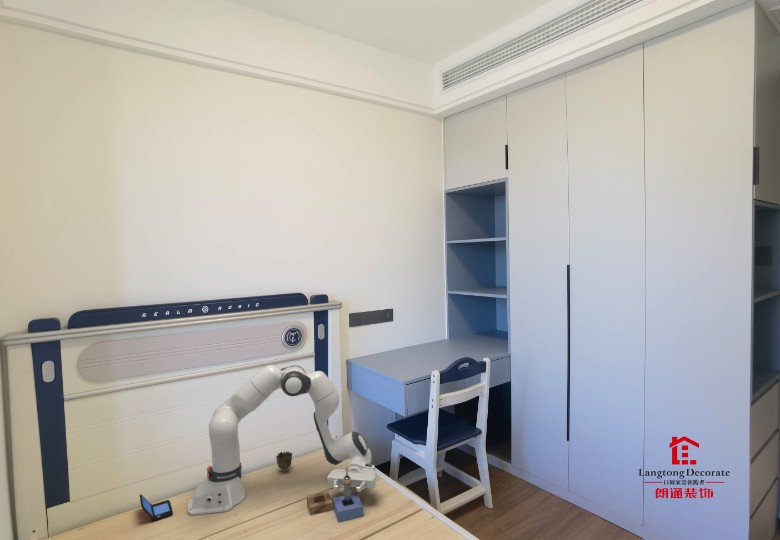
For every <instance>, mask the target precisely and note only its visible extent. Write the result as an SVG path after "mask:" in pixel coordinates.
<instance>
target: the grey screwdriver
mask: <svg viewBox="0 0 780 540" xmlns="http://www.w3.org/2000/svg"><path fill="white" fill-rule="evenodd" d="M345 469H346V476H344V486H343V493H344V495H343V496H344V502H345V506H347V505H351V494H352V493H351V491H352V489H351V488H352V487H351V478H350V476H348V467H347V465H346V466H345Z"/></svg>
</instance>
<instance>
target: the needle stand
mask: <svg viewBox="0 0 780 540" xmlns="http://www.w3.org/2000/svg"><path fill="white" fill-rule="evenodd" d="M306 503H307V508H308V511H309V515H310V516H313V515H317V514H322V513H326V512H331V511H334V509H333V499H332V497H331V494H330V492H329V491H328V490H327V491H323V492H317V493H313V494H309V495H306Z"/></svg>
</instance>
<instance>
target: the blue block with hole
mask: <svg viewBox="0 0 780 540" xmlns="http://www.w3.org/2000/svg"><path fill="white" fill-rule="evenodd" d="M332 503H333V511H334V513H335V517H336V520H337V522H338V523H341V522H345V521H351V520H354V519H358V518H362V517H364V505H363V502H362V501H361V498H360V497H359V495H358V493H357V492H355V493H351V505H347V506H345V502H344V495H341V496H337V497H333V498H332Z"/></svg>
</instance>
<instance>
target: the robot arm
mask: <svg viewBox="0 0 780 540" xmlns="http://www.w3.org/2000/svg"><path fill="white" fill-rule="evenodd" d="M279 389H281V390H282V391H283V393H284V394H285V395H287V396H289V397H297V396H298V397H299V396H300V395H301V396H302V395H305V394H308V395H309V397H310V399H311V400H312V403H313V405H314V409H315V411H314V412H313V420H314V424H315V427H316V428H315V429H316V430H317V433H318V436H319V439H320V442H321V445H322V448H323V453H324V457H325V460H326V461H327V462H328V463H329V464H331V465H334V466H337V465H339V464H341V463H343V462H344V461H347V460H349V462H348V464H347V465H346V466H347V467H348V476H350V478H351V488H356V493H357V492H358V493H361V492H362V491H363V490H364V489H374V488H375V487H376V483H377V481H376V478H377V477H376V467H375V465H373V464H371V462H372V451H371V450H370V448H369V447H368V443H367V441H366V440H365V437H364V436H363V435H362V434H361V433H360V432H357V431H353V430H352V432H349V433H346V434H345V435H343V436H341V437H339V438H337V439H334V438H333V437H332V434H331V431H330V429H329V425H328V420H329V418H330V417H331V416H332V415H333V414H335V412H336V411H337V409H338V407H339V404H340V396H339V393H338V390H337V389H336V388H335V386H334V384H333V382H332V381H331V380H330V378H329V377H328V375H327V374H326V373H325V372H323V371H322V370H317V371H313V372H311V373H307V372H306V370H305V369H304V368H303V367H302V366H300V365H296V364H295V365H289V366H286V367H283V368H281V369H280V368H279V367H278V366H276V365H273V364H269V365H267V366H265V367H263V368H262V369H261V370H259V371H258V372H256V373H255V374H254V375H253V376H252V377H251V378H249V380H248V381H247V382H246V383H244V384H243V385H242V387H240V388H239V390H238V389H237V391H236V392H235V393H233V394H232V395H231V396H230V397H229V398H227V399H226V400H225V401H223V403H221V404H220V405H219V406H217V408H216V409H215V410H214V412H213V414H212V416H211V419H210V421H209V425H208V435H209V436H208V437H209V442H210V450H211V465H208V466H207V467H206V468H207V469H206V471H207V473H206V474H207V475H206V478H205V479H204V480H203V481H202V482H201V483H200V484H198V485H197V486H196V489H195V490H194V494H193V496H192V497H191V498H190V499H189V501H188V504H187V514H188V515H190V516H195V515H203V514H204V515H205V514H217V513H222V512H224V513H225V512H228V511H230V510H232V508H233V507H235V506H236V505H239V504H240V503H241V502H242V501H244V499H245V498H246V492H245V489H244V486H243V480H242V475H243V467H242V462H241V449H240V446H241V445H240V440H239V430H238V429H239V423H240V422H241V421H242V420H243V419H244V418H245V417H246V416H248V415H249V414H250V413H252V412H254V411H256V410H257V409H258V408H260V406H261V405H262V404H263V403H264V402H265V401H266V400H267V399H268V398H269V397H270V396H271V395H273V392H275V391H276V390H279ZM344 476H346V468H345V469H343V468H335V469H334V468H333V470H331V472H329V473H328V475H327V477H326V483H327V485H328V486H329V487H331V486H333V490H334V491H338V490H339V488H340V487H344Z"/></svg>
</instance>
